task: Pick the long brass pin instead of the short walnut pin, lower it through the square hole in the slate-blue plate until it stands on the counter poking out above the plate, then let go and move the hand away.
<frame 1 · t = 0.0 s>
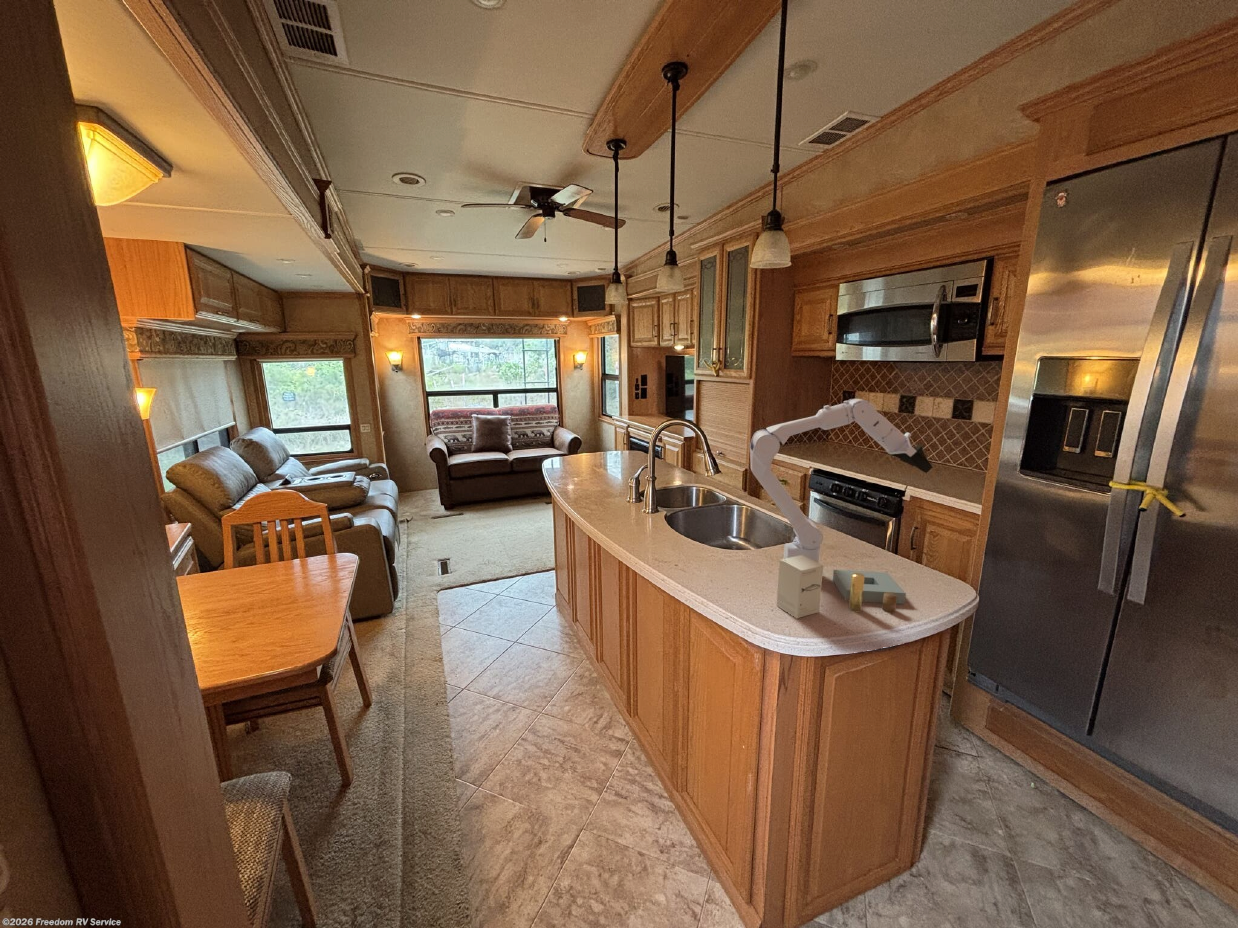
hand: (922, 466, 128), 32 cm above the countertop, tool tilted 50°, fingers open, 7 cm apart
short pin: (888, 609, 119), on the countertop
supplement box: (797, 609, 120), on the countertop
hole plate: (866, 591, 129), on the countertop
long pin: (854, 608, 120), on the countertop
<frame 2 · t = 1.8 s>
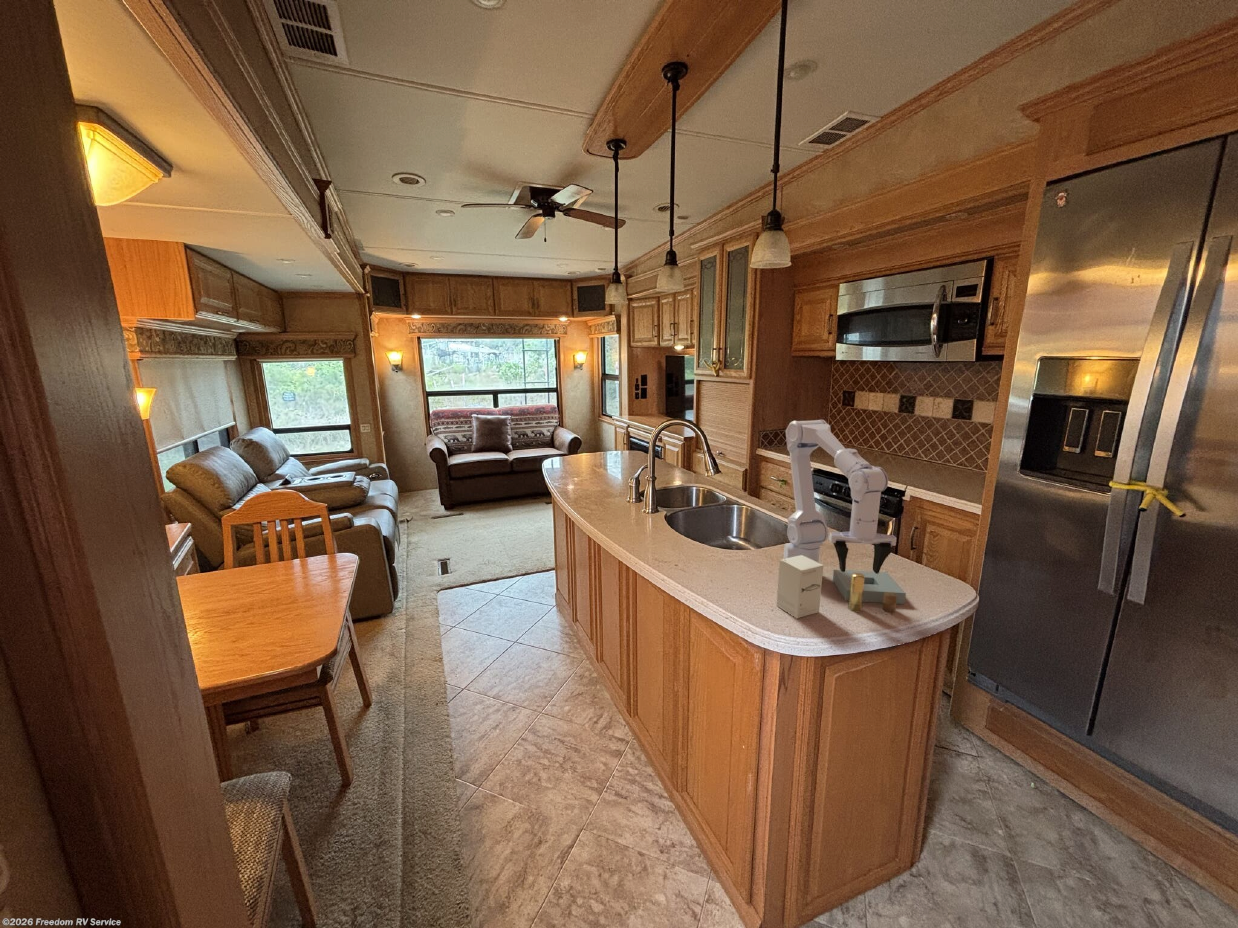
hand: (858, 570, 118), 10 cm above the countertop, tool pointing down, fingers open, 7 cm apart
nothing on the countertop moved.
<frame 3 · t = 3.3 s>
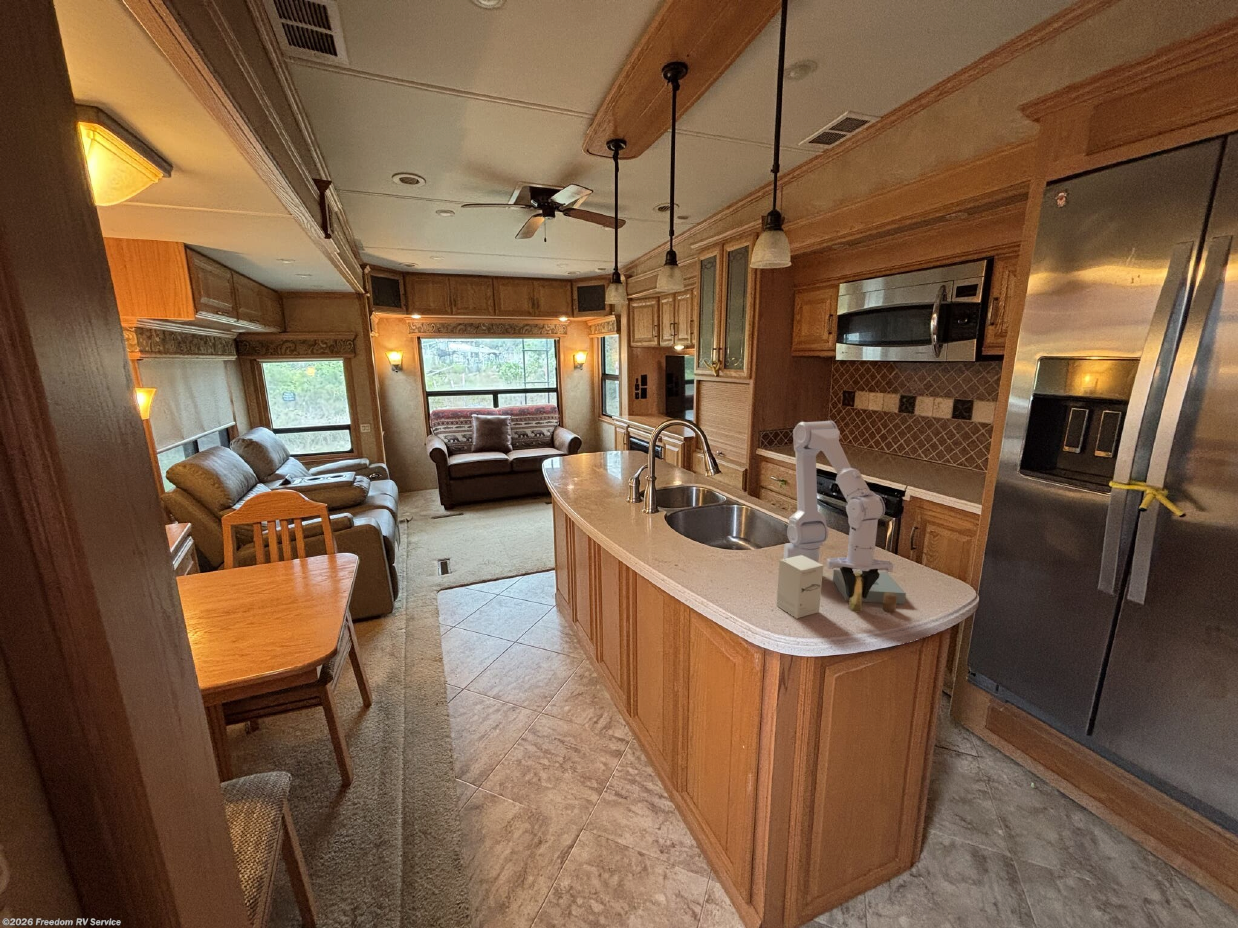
hand: (856, 596, 119), 3 cm above the countertop, tool pointing down, fingers closed on long pin, 3 cm apart
long pin: (854, 608, 120), on the countertop, touching gripper
everything else where it was.
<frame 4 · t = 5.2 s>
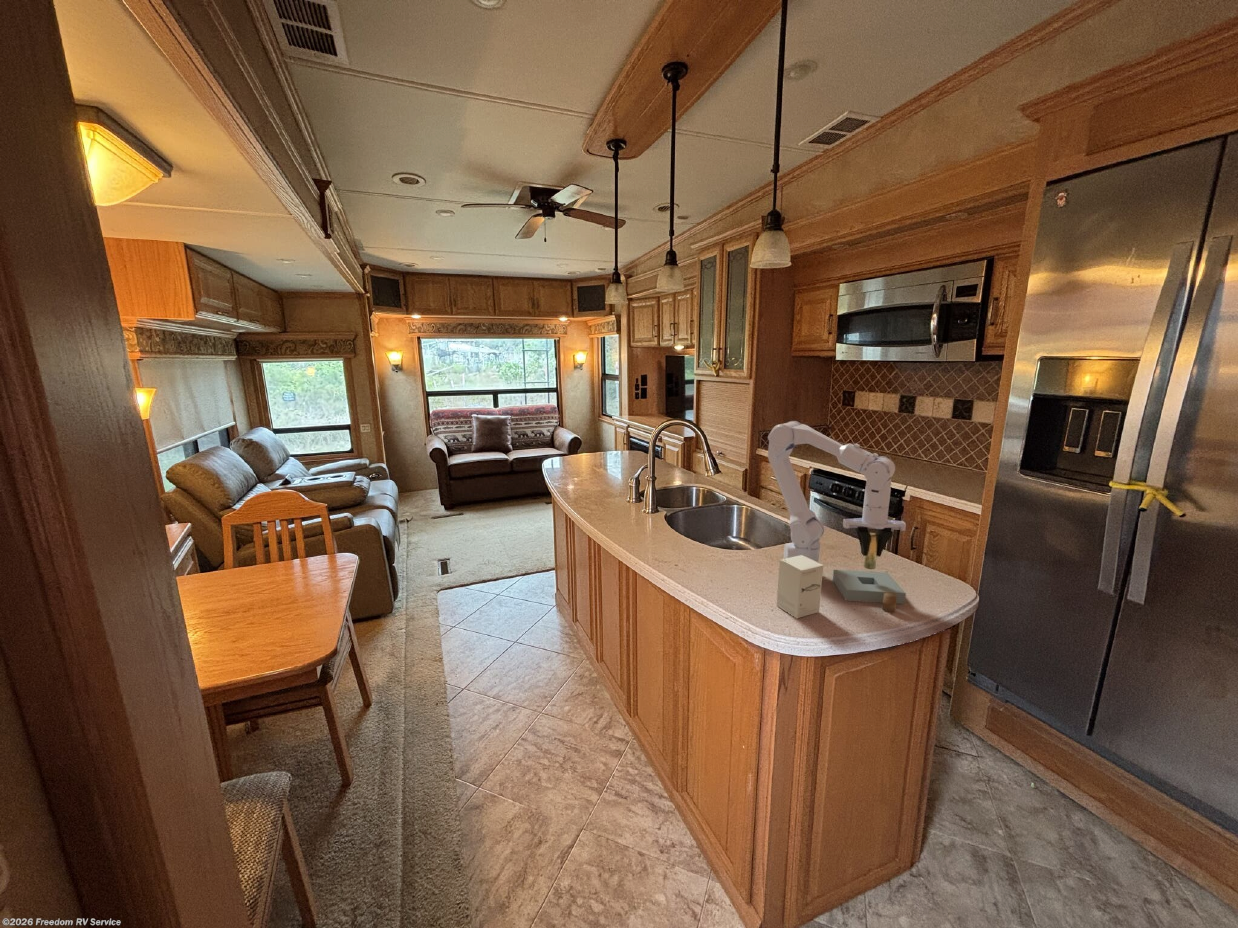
hand: (870, 554, 127), 10 cm above the countertop, tool pointing down, fingers closed on long pin, 3 cm apart
long pin: (869, 566, 127), point 7 cm above the countertop, touching gripper
everything else where it was.
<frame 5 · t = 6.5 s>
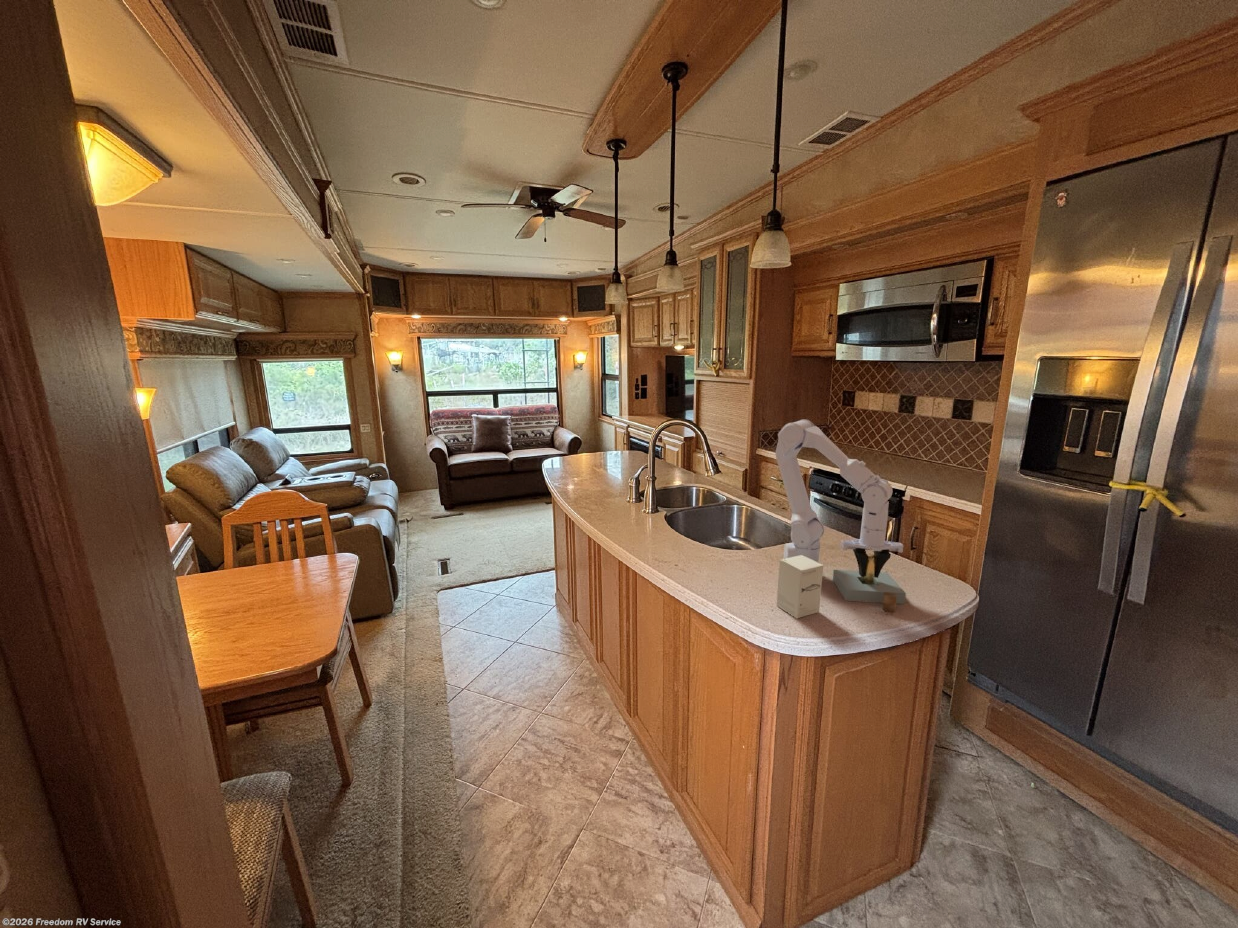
hand: (868, 575, 128), 4 cm above the countertop, tool pointing down, fingers closed on long pin, 3 cm apart
long pin: (867, 587, 128), point 1 cm above the countertop, touching gripper
everything else where it was.
when the fingers open (4 cm above the countertop, at t = 7.4 s): long pin stays where it is, resting in hole plate.
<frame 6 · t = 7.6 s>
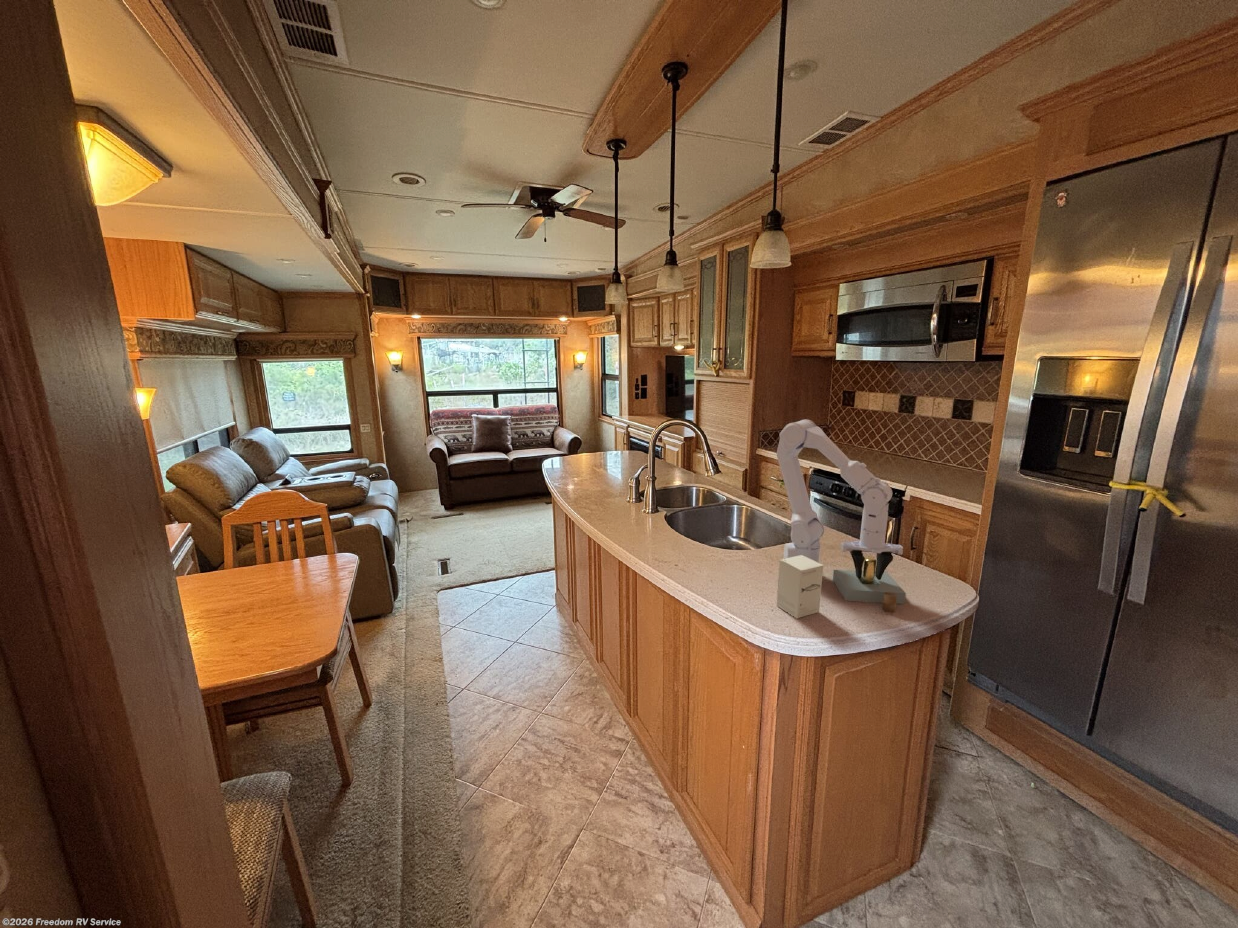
hand: (868, 577, 128), 4 cm above the countertop, tool pointing down, fingers open, 4 cm apart
long pin: (866, 591, 129), resting in hole plate
everything else where it was.
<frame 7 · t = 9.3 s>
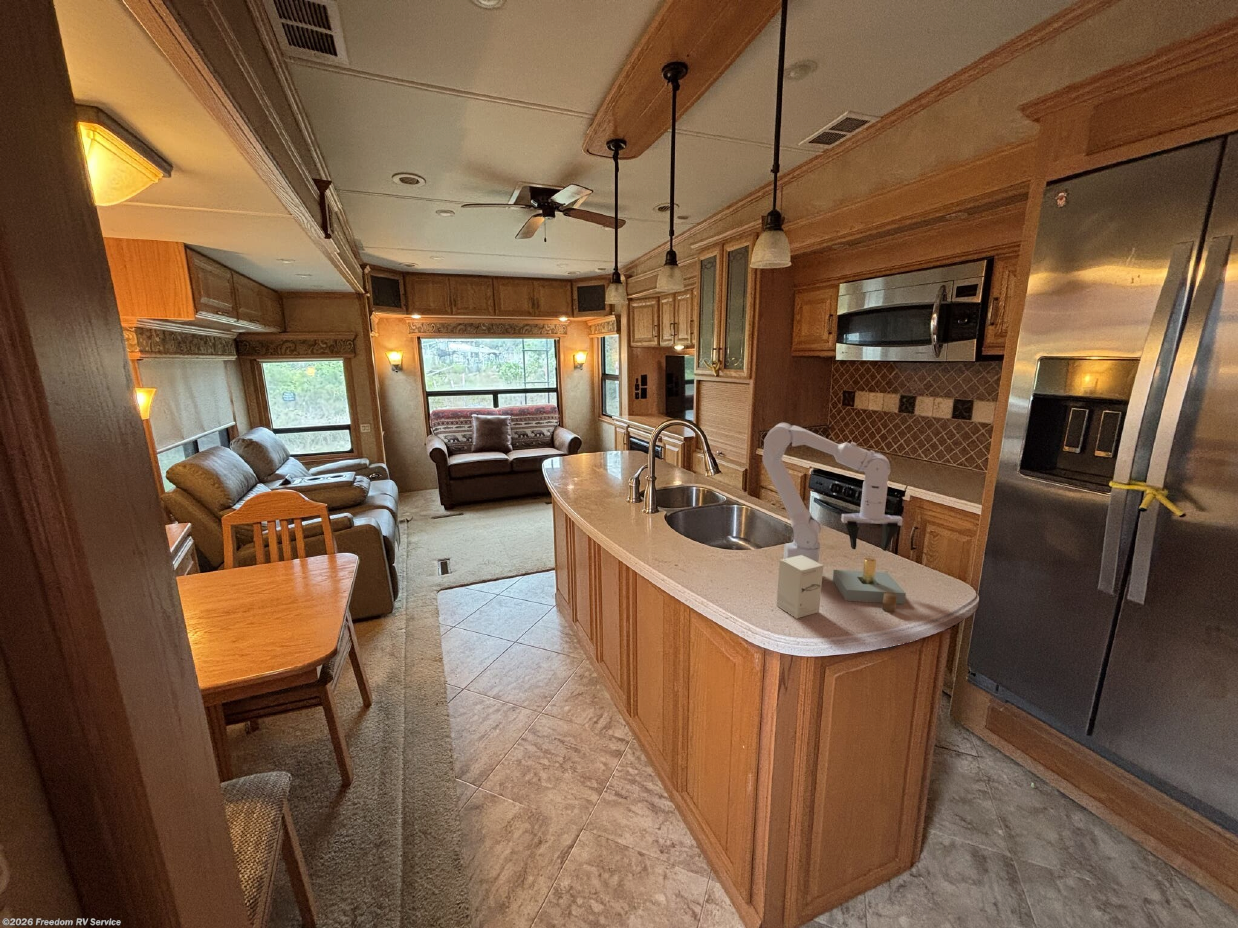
hand: (868, 548, 130), 10 cm above the countertop, tool pointing down, fingers open, 7 cm apart
nothing on the countertop moved.
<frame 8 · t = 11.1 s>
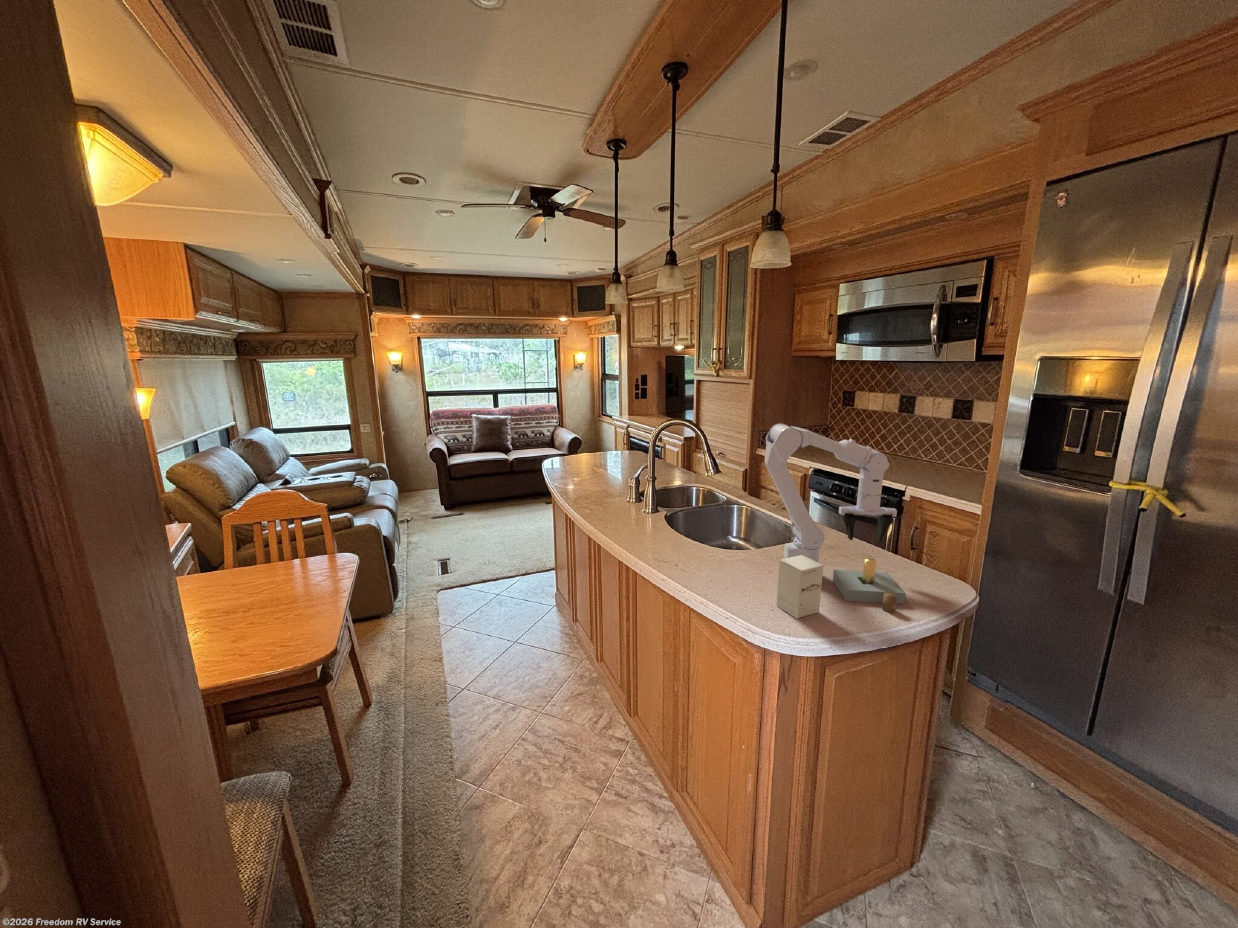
hand: (864, 539, 137), 10 cm above the countertop, tool pointing down, fingers open, 7 cm apart
nothing on the countertop moved.
at the end: long pin 0.1 cm off-centre on the hole plate, point 0.0 cm above the hole plate's base; long pin tilted 0°; short pin moved 0.0 cm from its start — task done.
